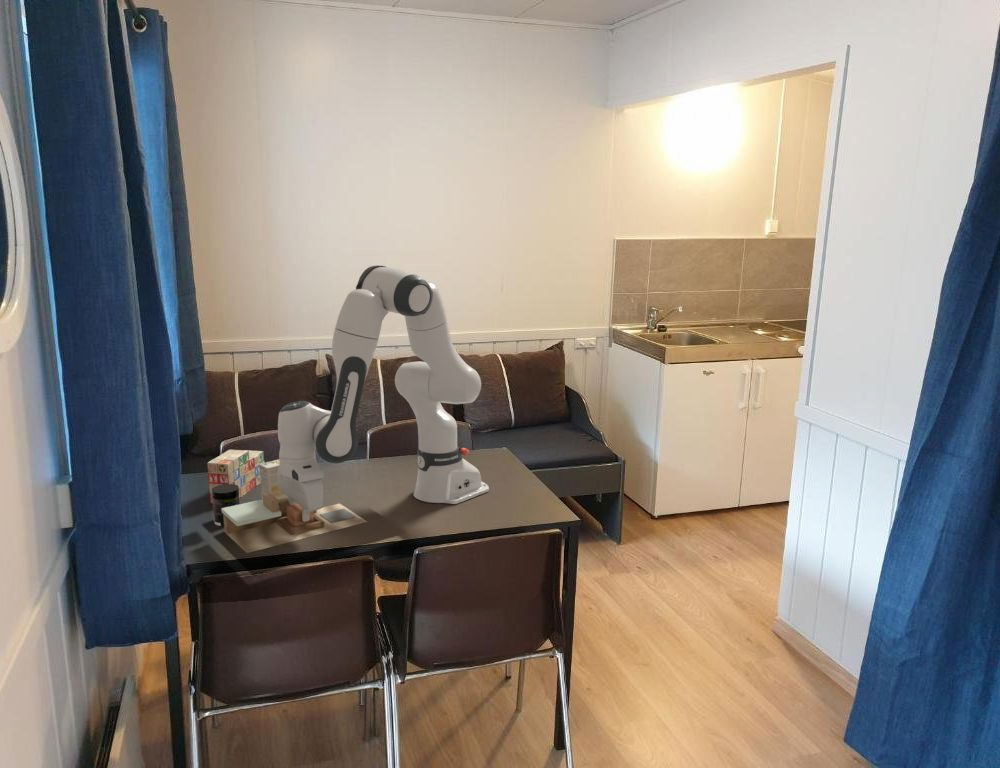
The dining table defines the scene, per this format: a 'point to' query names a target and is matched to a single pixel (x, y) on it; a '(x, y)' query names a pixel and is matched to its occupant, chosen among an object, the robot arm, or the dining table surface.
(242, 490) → the stack of blocks
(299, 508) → the block
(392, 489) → the dining table surface
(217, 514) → the supplement container
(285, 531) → the board
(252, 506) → the cover
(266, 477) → the supplement box
